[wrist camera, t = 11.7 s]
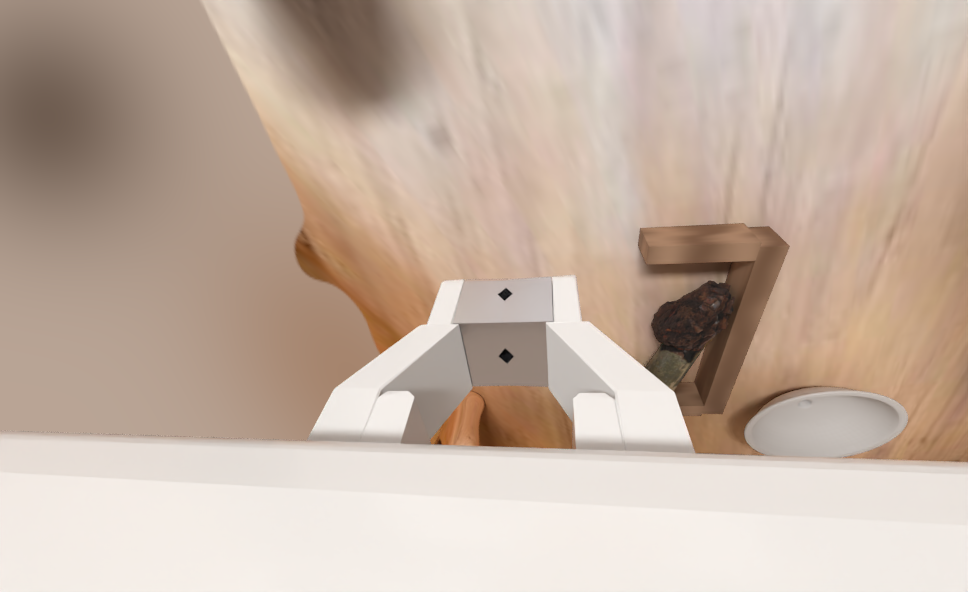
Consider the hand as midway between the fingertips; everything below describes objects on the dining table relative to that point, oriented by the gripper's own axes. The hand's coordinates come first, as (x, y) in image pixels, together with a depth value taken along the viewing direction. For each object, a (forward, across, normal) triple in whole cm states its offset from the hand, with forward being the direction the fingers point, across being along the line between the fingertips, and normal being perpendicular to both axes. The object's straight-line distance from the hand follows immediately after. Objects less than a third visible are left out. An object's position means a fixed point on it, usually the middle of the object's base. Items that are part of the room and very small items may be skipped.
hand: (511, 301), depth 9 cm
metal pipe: (+32, -16, +30) cm, 46 cm away
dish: (+32, -34, +42) cm, 63 cm away
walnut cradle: (+31, -16, +28) cm, 45 cm away
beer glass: (+31, +13, +44) cm, 55 cm away
